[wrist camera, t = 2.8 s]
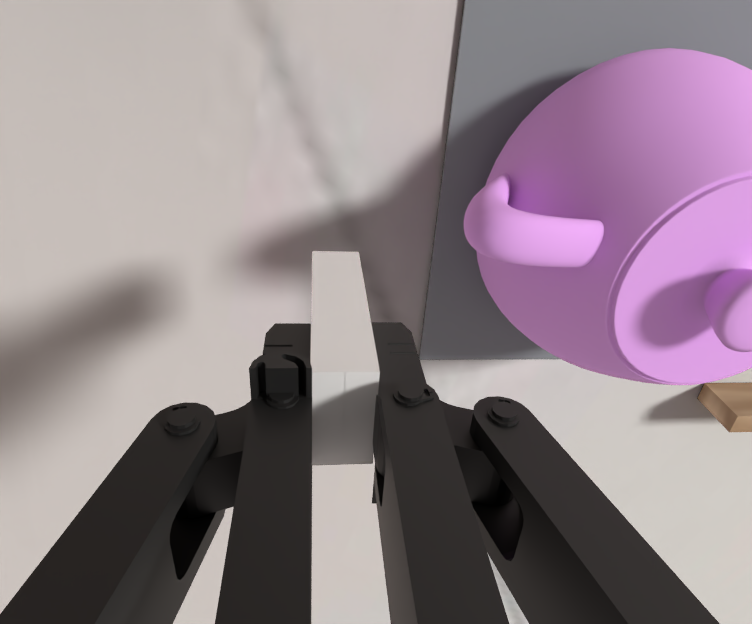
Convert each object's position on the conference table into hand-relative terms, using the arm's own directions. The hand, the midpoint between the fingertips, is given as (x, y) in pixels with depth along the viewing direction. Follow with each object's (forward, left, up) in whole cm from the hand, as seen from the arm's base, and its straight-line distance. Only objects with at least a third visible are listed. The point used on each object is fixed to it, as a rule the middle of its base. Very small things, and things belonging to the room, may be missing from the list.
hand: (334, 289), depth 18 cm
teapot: (0, +14, -8) cm, 16 cm away
